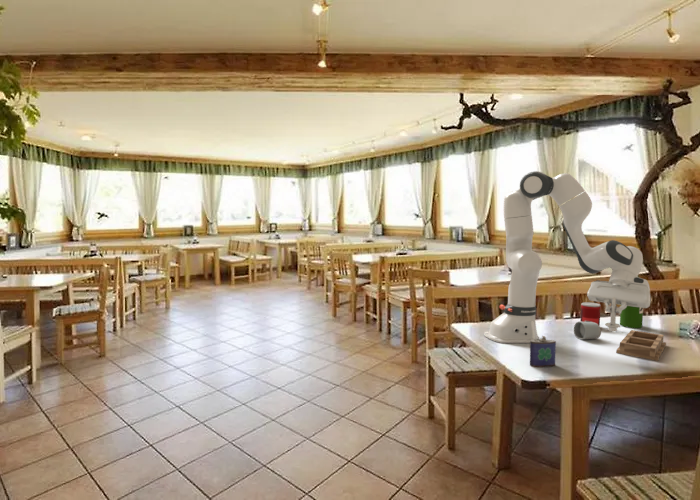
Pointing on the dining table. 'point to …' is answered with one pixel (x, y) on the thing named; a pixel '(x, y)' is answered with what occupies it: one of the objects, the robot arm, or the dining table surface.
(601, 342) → the dining table surface
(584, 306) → the canned food
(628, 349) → the rack
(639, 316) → the wine bottle
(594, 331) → the ceramic mug
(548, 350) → the flask
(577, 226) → the robot arm
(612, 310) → the screw
